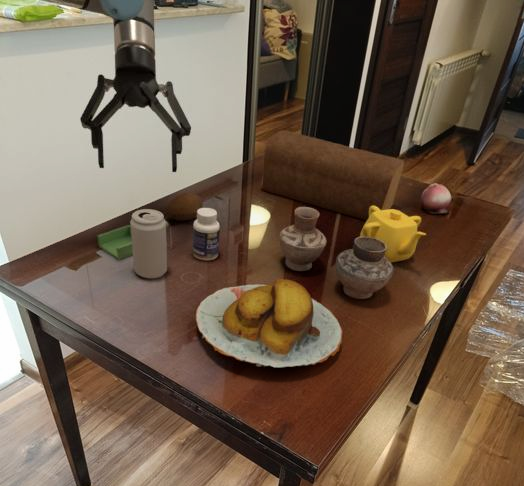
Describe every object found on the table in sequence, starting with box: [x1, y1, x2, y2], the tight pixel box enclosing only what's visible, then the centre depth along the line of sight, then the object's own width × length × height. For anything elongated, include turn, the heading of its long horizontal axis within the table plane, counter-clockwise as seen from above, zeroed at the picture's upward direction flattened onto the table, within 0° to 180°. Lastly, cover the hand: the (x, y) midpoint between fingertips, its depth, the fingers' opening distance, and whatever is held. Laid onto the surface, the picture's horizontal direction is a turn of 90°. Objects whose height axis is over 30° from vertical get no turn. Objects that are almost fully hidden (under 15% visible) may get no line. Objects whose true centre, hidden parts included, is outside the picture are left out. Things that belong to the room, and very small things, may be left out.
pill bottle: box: [192, 207, 221, 262], centre depth 100 cm, size 5×5×10 cm
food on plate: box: [194, 278, 344, 368], centre depth 83 cm, size 25×25×7 cm
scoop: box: [96, 220, 169, 261], centre depth 103 cm, size 16×7×3 cm, turn 139°
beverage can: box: [129, 208, 168, 280], centre depth 92 cm, size 6×6×12 cm
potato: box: [166, 192, 204, 222], centre depth 112 cm, size 7×10×6 cm
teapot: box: [359, 206, 427, 263], centre depth 108 cm, size 14×13×10 cm
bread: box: [261, 129, 405, 221], centre depth 127 cm, size 14×34×14 cm, turn 64°
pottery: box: [278, 206, 395, 300], centre depth 97 cm, size 11×25×12 cm, turn 54°
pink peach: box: [420, 182, 452, 215], centre depth 131 cm, size 8×8×7 cm
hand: (138, 167), depth 92 cm, fingers open, 13 cm apart
